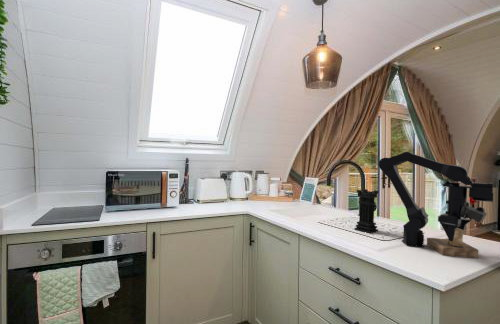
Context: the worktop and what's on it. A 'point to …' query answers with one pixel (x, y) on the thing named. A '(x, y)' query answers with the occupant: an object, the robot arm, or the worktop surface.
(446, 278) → the worktop surface
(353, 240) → the worktop surface
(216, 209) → the worktop surface
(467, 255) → the walnut block
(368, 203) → the chess piece
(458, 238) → the oak peg
